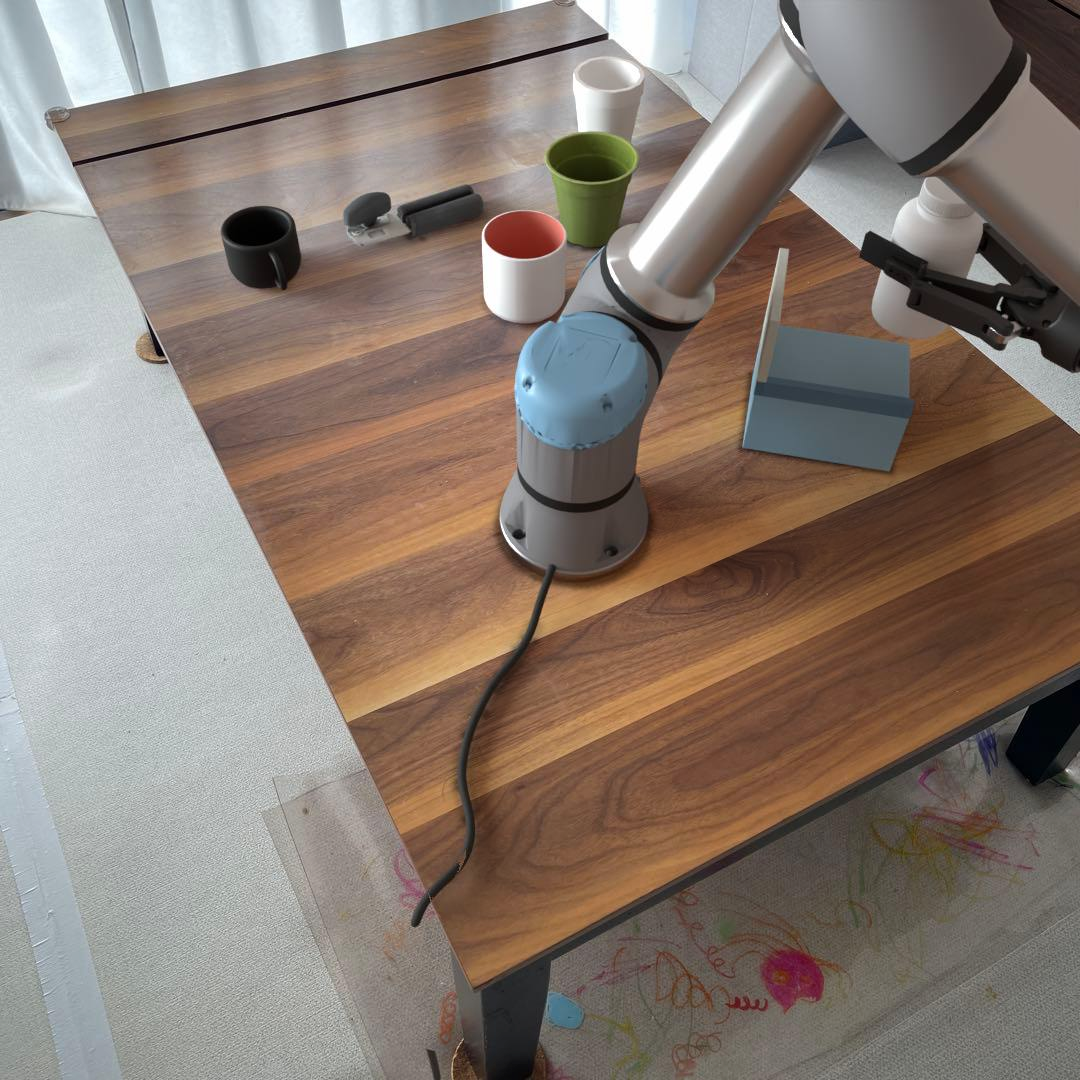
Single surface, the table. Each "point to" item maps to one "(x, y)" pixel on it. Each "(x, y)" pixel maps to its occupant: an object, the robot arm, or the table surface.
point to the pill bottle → (927, 254)
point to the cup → (524, 265)
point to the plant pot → (591, 183)
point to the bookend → (826, 392)
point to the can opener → (408, 214)
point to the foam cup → (608, 95)
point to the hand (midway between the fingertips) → (891, 226)
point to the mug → (262, 246)
